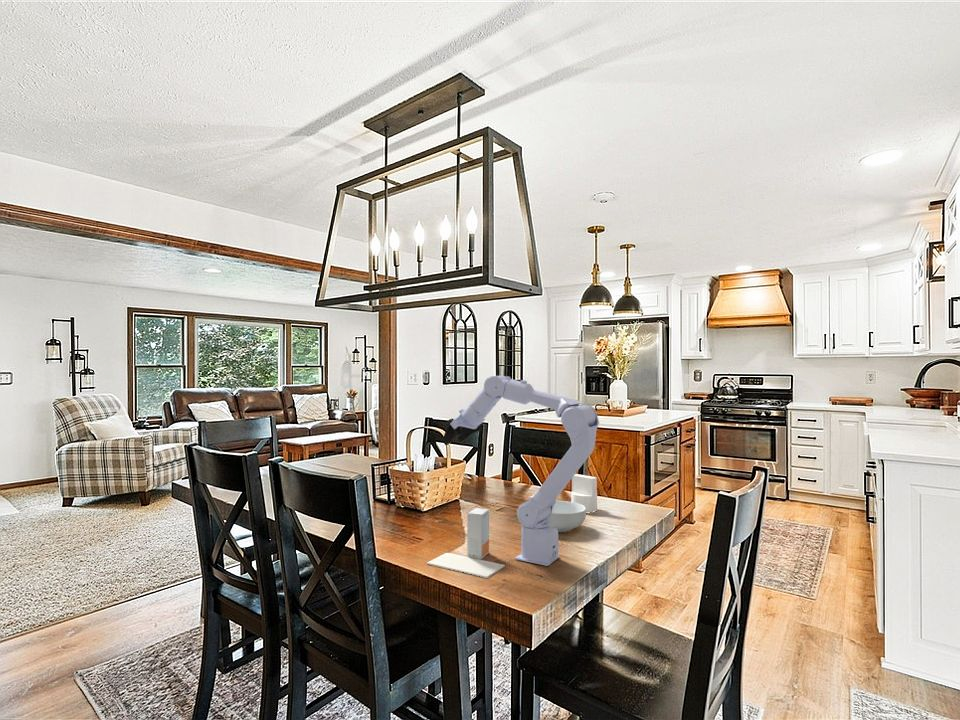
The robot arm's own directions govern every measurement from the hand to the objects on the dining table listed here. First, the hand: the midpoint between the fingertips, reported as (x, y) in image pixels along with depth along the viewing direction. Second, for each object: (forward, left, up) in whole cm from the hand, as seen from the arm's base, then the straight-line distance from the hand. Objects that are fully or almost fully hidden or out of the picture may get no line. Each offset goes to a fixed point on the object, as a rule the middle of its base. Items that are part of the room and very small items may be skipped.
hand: (451, 440), depth 160 cm
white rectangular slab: (-14, +14, -29) cm, 35 cm away
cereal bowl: (-22, -28, -30) cm, 46 cm away
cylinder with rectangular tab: (-21, -53, -29) cm, 64 cm away
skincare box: (-13, +6, -29) cm, 33 cm away
